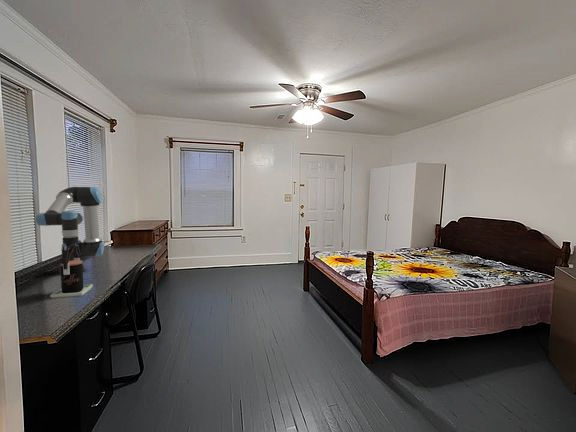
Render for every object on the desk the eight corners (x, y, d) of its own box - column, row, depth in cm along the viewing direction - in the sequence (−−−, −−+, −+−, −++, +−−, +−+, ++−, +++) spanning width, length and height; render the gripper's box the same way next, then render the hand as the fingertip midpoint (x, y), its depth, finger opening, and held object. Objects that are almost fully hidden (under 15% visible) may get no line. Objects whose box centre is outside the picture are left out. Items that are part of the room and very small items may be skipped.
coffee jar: (57, 295, 163) (56, 264, 162) (66, 289, 174) (65, 260, 172) (79, 293, 166) (77, 264, 165) (86, 287, 176) (85, 259, 175)
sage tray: (64, 288, 175) (63, 286, 175) (92, 287, 180) (92, 284, 179) (50, 297, 160) (50, 294, 160) (82, 295, 165) (82, 292, 164)
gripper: (72, 233, 178) (74, 266, 180) (51, 240, 154) (53, 277, 156) (86, 233, 180) (87, 265, 182) (67, 239, 156) (69, 277, 158)
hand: (72, 271), depth 169 cm, fingers open, 13 cm apart
